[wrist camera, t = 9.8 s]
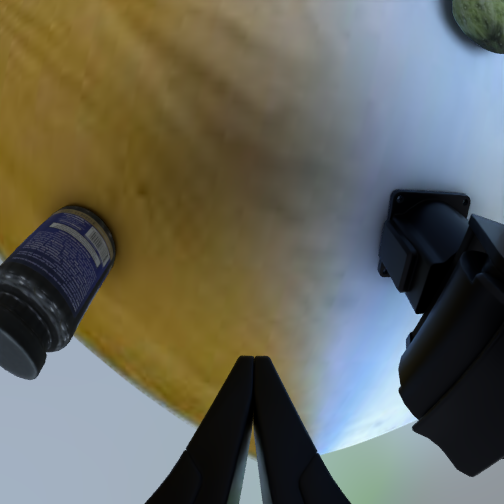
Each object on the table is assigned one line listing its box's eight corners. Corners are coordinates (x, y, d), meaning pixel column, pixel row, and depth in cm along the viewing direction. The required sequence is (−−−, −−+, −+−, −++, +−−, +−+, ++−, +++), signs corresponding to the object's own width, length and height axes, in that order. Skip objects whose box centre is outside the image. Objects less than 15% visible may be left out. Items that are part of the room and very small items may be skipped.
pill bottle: (48, 196, 18) (-53, 288, 9) (120, 212, 19) (31, 331, 10) (54, 264, 22) (-17, 363, 12) (118, 283, 22) (60, 402, 13)
